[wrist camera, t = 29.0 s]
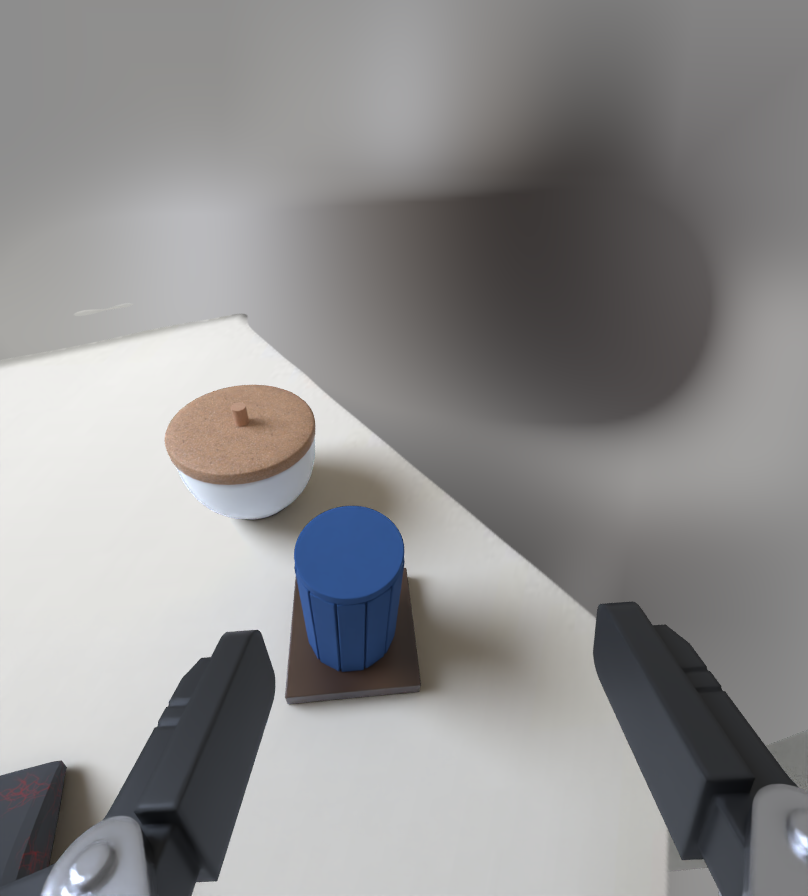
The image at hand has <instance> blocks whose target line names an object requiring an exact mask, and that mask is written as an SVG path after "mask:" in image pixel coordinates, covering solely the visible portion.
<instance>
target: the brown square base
mask: <svg viewBox="0 0 808 896" xmlns="http://www.w3.org/2000/svg"><path fill="white" fill-rule="evenodd" d="M420 686H421V681H420V673H419V665H418V657H417V649H416V641H415V633H414V625H413V617H412V610H411V602H410V594H409V586H408V578H407V570H406V568H404V569H403V577H402V584H401V592H400V599H399V607H398V614H397V621H396V629H395V635H394V638H393V640H392V642H391V644H390V646H389V649H388V651H387V653H386V654H385V653H384V656H383V657H382V658H381V659H379V660H378V661H377V662H375V663H374V664H372V665H371V666H370V667H368V668H365V666H364V670H358V671H347V672H342V670H341V669H340V671H337V670H335V669H333V668H332V667H330V666H328V665H326V664H324V663H322V662H321V661H320V659H318V658H317V656H316V654H315V653H314V651H313V649H312V647H311V645H310V644H309V640H308V636H307V631H306V625H305V620H304V615H303V610H302V605H301V599H300V594H299V589H298V584H297V578H296V580H295V591H294V602H293V614H292V625H291V636H290V647H289V659H288V670H287V681H286V692H285V698H286V701H287V704H294V703H305V702H315V701H326V700H336V699H347V698H357V697H368V696H378V695H389V694H399V693H409V692H418V691H419V689H420Z"/></svg>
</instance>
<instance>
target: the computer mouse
mask: <svg viewBox="0 0 808 896" xmlns="http://www.w3.org/2000/svg"><path fill="white" fill-rule="evenodd" d="M66 768H67V767H66V766H65V764H64V763H63V762H62V761H55V762H50V763H46V764H43V765H39V766H35V767H31V768H27V769H24V770H20V771H16V772H12V773H9V774H5V775H1V776H0V887H1V886H4V885H6V884H8V883H11V882H13V881H16V880H18V879H20V878H23V877H25V876H27V875H30V874H32V873H35V872H37V871H39V870H42V869H44V868H46V867H48V866H49V861H50V856H51V851H52V846H53V841H54V836H55V831H56V825H57V820H58V815H59V809H60V803H61V797H62V790H63V783H64V777H65V772H66Z"/></svg>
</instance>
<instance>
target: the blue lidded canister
mask: <svg viewBox="0 0 808 896" xmlns="http://www.w3.org/2000/svg"><path fill="white" fill-rule="evenodd" d="M294 560H295V573H296V578H297V584H298V589H299V594H300V599H301V605H302V610H303V615H304V620H305V625H306V631H307V636H308V640H309V644H310V645H311V647H312V649H313V651H314V653H315V654H316V656H317V658H318V659H320V661H321V662H322V663H324V664H326V665H328V666H330V667H332V668H333V669H335V670H337V671H340V669H341V670H342V672H347V671H358V670H364V666H365V668H368V667H370V666H371V665H372V664H374V663H375V662H377V661H378V660H379V659H381V658H382V657H383V656H384V653H385V654H386V653H387V651H388V649H389V646H390V644H391V642H392V640H393V638H394V635H395V629H396V621H397V614H398V607H399V599H400V592H401V584H402V577H403V569H404V543H403V539H402V536H401V534H400V532H399V530H398V529H397V527H396V526H395V524H394V523H393V522H392V521H391V520H390V519H389V518H387V517H386V516H385V515H383V514H381V513H380V512H378V511H375V510H373V509H370V508H366V507H361V506H342V507H337V508H333V509H330V510H328V511H325V512H323V513H321V514H320V515H318V516H316V517H315V518H314V519H312V520H311V521H310V522H309V523H308V524H307V525H306V526H305V527H304V529H303V530H302V532H301V533H300V535H299V537H298V539H297V542H296V545H295V550H294Z"/></svg>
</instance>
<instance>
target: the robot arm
mask: <svg viewBox="0 0 808 896" xmlns="http://www.w3.org/2000/svg"><path fill="white" fill-rule="evenodd" d="M593 656H594V663H595V668H596V671H597V674H598V677H599V680H600V682H601V684H602V687H603V689H604V691H605V693H606V695H607V697H608V700H609V702H610V704H611V706H612V708H613V710H614V713H615V715H616V717H617V719H618V721H619V724H620V726H621V728H622V730H623V732H624V734H625V737H626V739H627V741H628V743H629V745H630V748H631V750H632V752H633V754H634V756H635V758H636V761H637V763H638V765H639V767H640V769H641V772H642V774H643V776H644V778H645V780H646V782H647V785H648V787H649V789H650V791H651V793H652V796H653V798H654V800H655V802H656V804H657V806H658V809H659V811H660V813H661V815H662V817H663V819H664V822H665V824H666V826H667V828H668V830H669V833H670V835H671V837H672V839H673V841H674V843H675V846H676V848H677V850H678V852H679V854H680V857H681V859H682V860H693V859H704V861H705V863H706V865H707V867H708V868H709V871H710V873H711V875H712V876H713V879H714V881H715V882H716V884H717V887H718V889H719V893H718V896H808V791H806V790H803V789H801V788H799V787H798V786H797V785H796V784H795V783H794V782H793V781H792V780H791V779H790V778H789V776H788V775H787V774H786V773H785V772H784V770H783V769H782V768H781V766H780V765H779V764H778V762H777V761H776V759H775V758H774V757H773V755H772V754H771V753H770V751H769V750H768V749H767V747H766V746H765V745H764V743H763V742H762V741H761V739H760V738H759V737H758V735H757V734H756V733H755V731H754V730H753V729H752V727H751V726H750V724H749V723H748V722H747V720H746V719H745V718H744V716H743V715H742V714H741V712H740V711H739V710H738V708H737V707H736V705H735V704H734V703H733V701H732V700H731V699H730V697H729V696H728V695H727V693H726V692H725V691H722V689H721V685H720V684H719V683H718V681H717V680H716V679H715V677H714V676H713V674H712V673H711V672H710V671H708V670H707V667H706V665H705V664H704V662H703V661H702V660H701V658H700V657H699V656H698V654H697V653H696V652H695V650H694V649H693V647H692V646H691V645H690V644H689V643H688V642H687V641H686V640H684V639H683V638H682V637H680V636H679V635H678V634H677V633H676V632H674V631H673V630H672V629H670V628H669V627H668V626H667V625H652V624H651V622H650V621H649V619H648V618H647V616H646V615H645V613H644V612H643V610H642V609H641V608H640V606H639V605H638V604H637V603H635V602H622V603H607V604H600V605H599V606H598V609H597V618H596V628H595V638H594V647H593ZM274 695H275V674H274V670H273V667H272V664H271V661H270V658H269V655H268V652H267V649H266V646H265V643H264V640H263V637H262V634H261V632H260V631H259V630H249V631H236V632H226V633H225V634H224V635H223V636H222V637H221V639H220V641H219V643H218V645H217V646H216V648H215V650H214V652H213V654H212V656H211V657H208V658H201V659H200V660H199V661H198V662H197V663H196V664H195V665H194V666H193V667H192V668H191V670H190V671H189V672H188V673H187V674H186V675H185V676H184V677H183V678H182V679H181V681H180V683H179V685H178V687H177V688H176V690H175V692H174V694H173V696H172V698H171V699H170V701H169V706H168V707H166V708H165V710H164V712H163V714H162V716H161V718H160V719H159V721H158V726H157V727H155V728H154V730H153V732H152V734H151V736H150V738H149V739H148V741H147V743H146V745H145V747H144V748H143V750H142V752H141V754H140V756H139V758H138V759H137V761H136V763H135V765H134V767H133V768H132V770H131V772H130V774H129V776H128V778H127V779H126V781H125V783H124V785H123V787H122V788H121V790H120V792H119V794H118V796H117V798H116V799H115V801H114V803H113V805H112V807H111V808H110V810H109V812H108V813H107V815H106V816H105V818H104V819H103V820H102V821H101V822H99V823H97V824H96V825H94V826H92V827H91V828H89V829H88V830H87V831H85V832H84V833H83V834H82V835H80V836H79V837H78V838H77V839H76V840H75V841H74V842H73V843H72V844H71V845H70V846H69V847H68V848H67V849H66V850H65V852H64V853H63V854H62V855H61V857H60V858H59V859H58V861H57V862H56V863H54V864H52V865H50V866H48V867H46V868H44V869H42V870H39V871H37V872H35V873H32V874H30V875H27V876H25V877H23V878H20V879H18V880H16V881H13V882H11V883H8V884H6V885H4V886H1V887H0V896H191V895H192V892H193V889H194V886H195V883H196V882H210V881H217V880H218V877H219V874H220V870H221V867H222V864H223V861H224V858H225V854H226V851H227V848H228V845H229V842H230V838H231V835H232V832H233V829H234V826H235V822H236V819H237V816H238V813H239V809H240V806H241V803H242V800H243V797H244V793H245V790H246V787H247V784H248V781H249V777H250V774H251V771H252V768H253V765H254V761H255V758H256V755H257V752H258V749H259V745H260V742H261V739H262V736H263V732H264V729H265V726H266V723H267V720H268V716H269V713H270V710H271V707H272V704H273V700H274Z"/></svg>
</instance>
